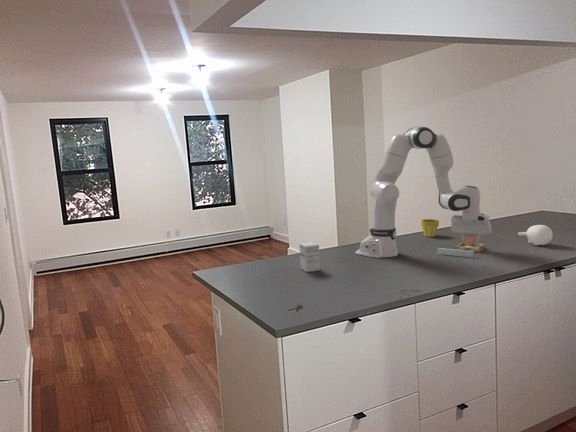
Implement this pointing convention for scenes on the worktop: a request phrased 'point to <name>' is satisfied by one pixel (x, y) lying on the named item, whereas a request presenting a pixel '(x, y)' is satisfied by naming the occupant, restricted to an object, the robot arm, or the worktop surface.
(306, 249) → the supplement box
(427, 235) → the plant pot
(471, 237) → the coral ball
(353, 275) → the worktop surface
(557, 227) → the worktop surface
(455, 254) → the aqua wall
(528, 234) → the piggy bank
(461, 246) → the birch tray
